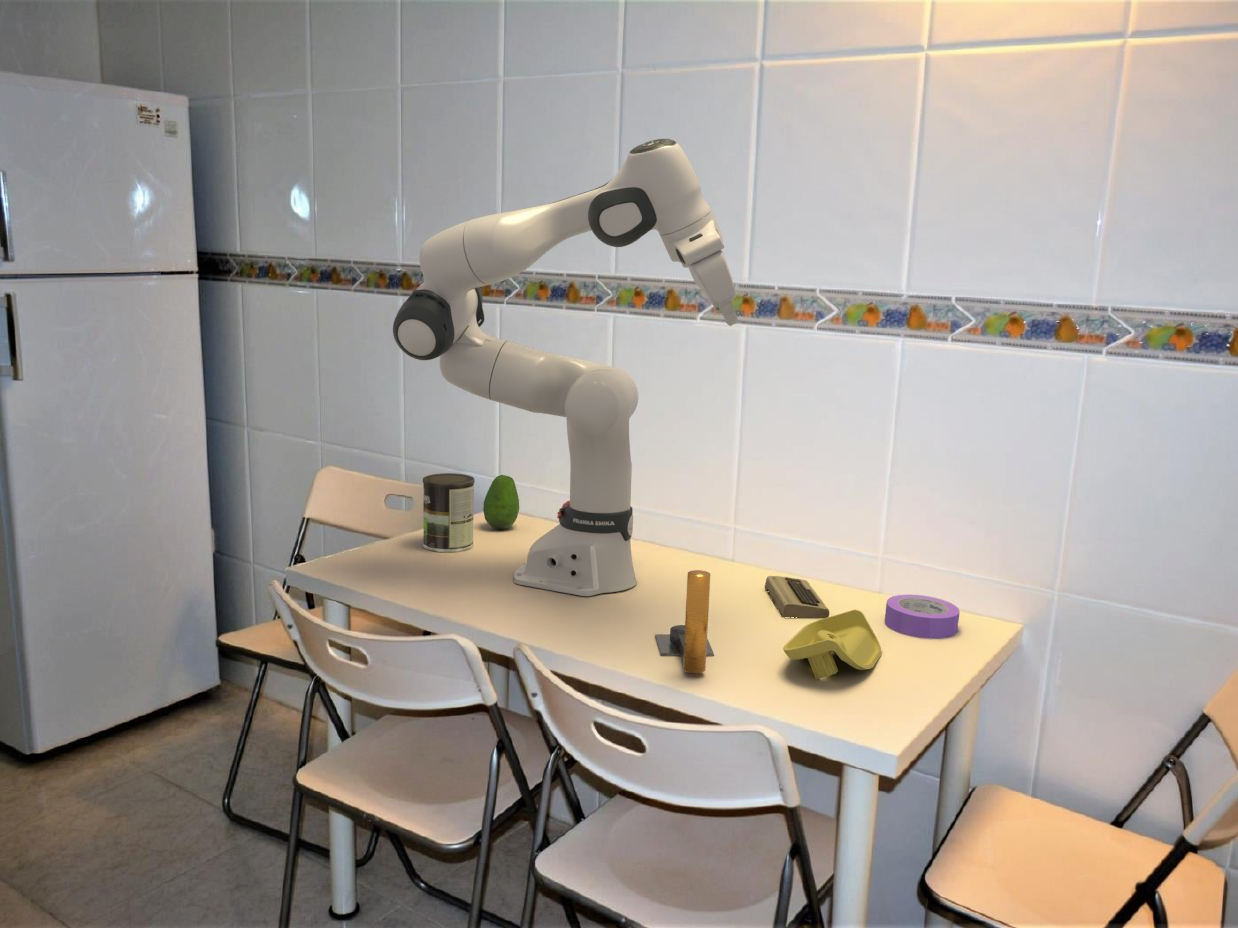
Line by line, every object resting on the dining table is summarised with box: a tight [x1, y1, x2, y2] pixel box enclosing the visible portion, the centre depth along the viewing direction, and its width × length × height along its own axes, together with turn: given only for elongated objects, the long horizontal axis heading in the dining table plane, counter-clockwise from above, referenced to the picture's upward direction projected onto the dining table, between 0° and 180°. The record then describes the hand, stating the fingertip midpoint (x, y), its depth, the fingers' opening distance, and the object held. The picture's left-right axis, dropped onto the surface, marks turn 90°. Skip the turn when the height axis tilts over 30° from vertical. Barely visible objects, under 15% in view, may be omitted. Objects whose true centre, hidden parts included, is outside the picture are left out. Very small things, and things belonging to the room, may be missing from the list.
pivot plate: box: [654, 633, 715, 657], centre depth 157 cm, size 8×8×1 cm
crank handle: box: [669, 569, 711, 674], centre depth 150 cm, size 15×4×14 cm, turn 4°
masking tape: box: [884, 594, 961, 640], centre depth 169 cm, size 12×12×4 cm
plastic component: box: [782, 609, 883, 680], centre depth 151 cm, size 20×7×10 cm
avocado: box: [482, 474, 520, 530], centre depth 222 cm, size 8×8×12 cm
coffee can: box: [422, 472, 476, 553], centre depth 207 cm, size 10×10×14 cm
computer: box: [764, 575, 830, 619], centre depth 179 cm, size 16×8×3 cm, turn 3°
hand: (727, 317), depth 165 cm, fingers open, 8 cm apart
